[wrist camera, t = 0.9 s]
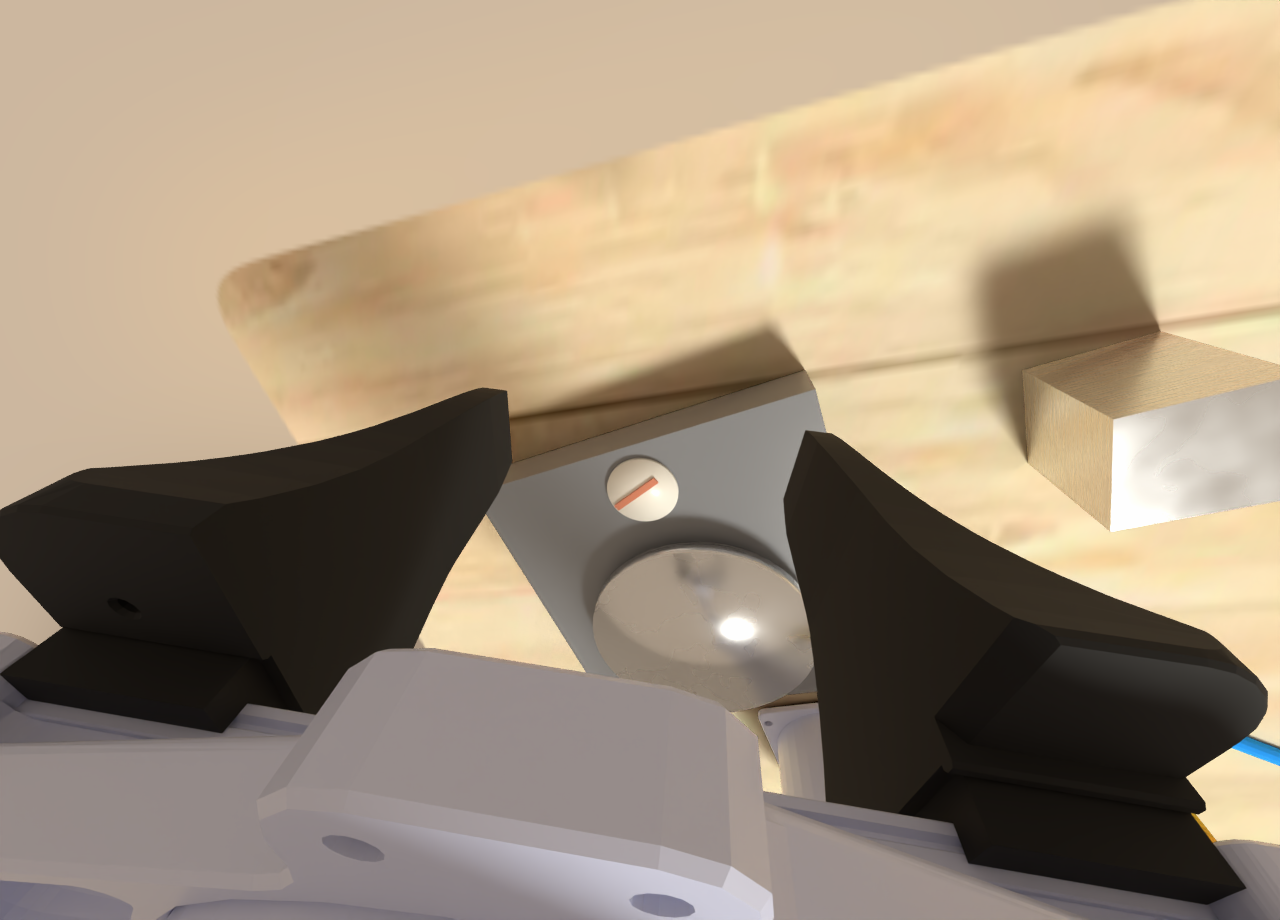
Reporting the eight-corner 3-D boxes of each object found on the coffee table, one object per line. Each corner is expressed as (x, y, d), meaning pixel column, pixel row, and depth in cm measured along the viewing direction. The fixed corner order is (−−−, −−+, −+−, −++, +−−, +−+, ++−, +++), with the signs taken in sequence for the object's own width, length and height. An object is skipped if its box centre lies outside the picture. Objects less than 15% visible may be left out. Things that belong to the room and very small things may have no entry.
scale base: (876, 645, 26) (891, 688, 24) (620, 681, 31) (612, 720, 29) (805, 369, 20) (816, 392, 17) (493, 469, 25) (470, 497, 22)
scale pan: (837, 685, 24) (841, 699, 24) (643, 708, 28) (641, 722, 27) (784, 517, 20) (786, 528, 19) (560, 568, 23) (555, 580, 23)
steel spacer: (1152, 433, 19) (1281, 500, 15) (1027, 462, 20) (1110, 531, 16) (1159, 330, 17) (1307, 372, 13) (1021, 369, 19) (1113, 419, 14)
